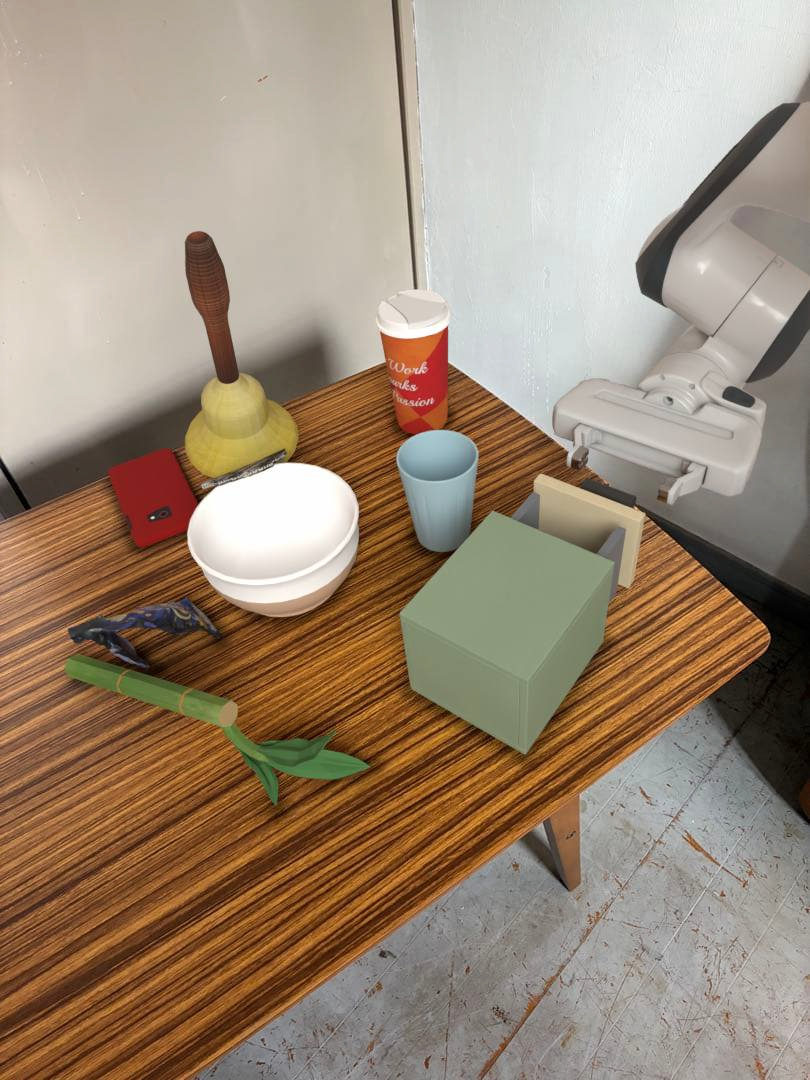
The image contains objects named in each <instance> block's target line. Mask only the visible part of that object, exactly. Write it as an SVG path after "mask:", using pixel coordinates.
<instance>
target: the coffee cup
mask: <svg viewBox="0 0 810 1080" xmlns="http://www.w3.org/2000/svg"><path fill="white" fill-rule="evenodd" d="M451 319H452V310H451V309H450V308H449V306H448V304H447V302H446V300H445V298H444V297H443V296H442V295H441V294H439V293H437V292H435V291H432V290H428V289H406V290H401V291H398V294H392V295H391V296H389V297H387V298H386V300H382V301H381V302H380V304H379V306H378V308H377V314H376V316H375V318H374V324H375V327H376V328H377V330H378V331H379V334H380V339H381V344H382V350H383V355H384V361H385V366H386V371H387V376H388V382H389V385H390V391H391V397H392V402H393V406H394V411H395V415H396V420H397V423H398V426H399V428H400V429H401V430H403V431H404V432H406V433H407V434H412V435H417V434H419V433H422V432H426V431H431V430H442V428H443V427H444V426H445V425H446V423H447V421H448V414H449V413H448V412H449V324H450V323H451Z"/></svg>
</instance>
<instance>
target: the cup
mask: <svg viewBox="0 0 810 1080" xmlns="http://www.w3.org/2000/svg"><path fill="white" fill-rule="evenodd" d="M395 456H396V457H395V460H396V462H395V463H396V466H397V470H398V473H399V477H400V480H401V483H402V487H403V491H404V495H405V498H406V502H407V506H408V509H409V513H410V516H411V521H412V525H413V528H414V532H415V536H416V538H417V540H418V542H419V544H420V545H421V546H423V547H424V548H425V549H427V550H429V551H431V552H438V553H446V552H453V551H454V550H455V551H456V550H457V549H458V548H459V547H460V546H461V545H462V544H463V542H464V541H465V540H466V539H467V538H468V537H469V536H470V535H471V528H472V520H473V510H474V501H475V493H476V492H475V491H476V482H477V474H478V466H479V465H478V464H479V458H480V457H479V456H480V455H479V448H478V447H477V444H476V443H475V442H474V441H473V440H472V439H471V438H470V437H469V436H467V435H465V434H463V433H461V432H458V431H454V430H450V429H449V430H448V429H439V430H431V431H426V432H422V433H419V434H417V435H416V434H414V435H413V436H411V437H409V438H408V439H406V440H405V441H404V442H403V443H402V444H401V445H400V447H399V448H398V450H397V452H396V455H395Z"/></svg>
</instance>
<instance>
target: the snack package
mask: <svg viewBox="0 0 810 1080" xmlns="http://www.w3.org/2000/svg"><path fill="white" fill-rule="evenodd" d="M112 612H113V613H115V612H116V611H115V610H113V611H112ZM112 612H111V611H109V614H111V613H112ZM107 614H108V613H107V612H106V613H105V615H107ZM126 629H128V630H130V629H149V630H159V631H163V632H164V633H171V634H170V636H172V637H175V636H176V635H178V636H180V635H186V634H189V633H191V632H193V631H202V632H203V631H204V632H206V633H208V634H209V635H211V636H212V637H213V638H216V639H218V640H222V639H223V636H222V634H221V633H220V631H219V630H218V629H217V627H216V626H215V625H214V624H213V623H212V621H211V620H210V619H209V617H208V616H207V615H206V614H205V613H204V612H203V611H201V610H200V609H199V608H198V607H197V606H196V605H195V603H193V602H192V601H191V600H190V599H189V597H188V596H185V597H184V599H182V600H180V601H170V602H165V603H159V604H151V605H147V606H144V607H143V606H142V607H140V606H136V607H135V609H134V610H132V611H130V612H128V613H123V614H118V615H114V616H111V617H107V618H106V617H105V616H104V613H103V614H99V615H97V616H96V617H94V618H91V619H90V620H86V621H85V622H82V623H80V624H78V625H74V626H70V627H68V628H67V633H68V635H69V638H70V639H71V640H72V642H73V643H74V644H77V645H78V644H82V642H84V641H92V642H95V644H97V645H98V646H103V647H105V648H106V649H107V650H108V651H109V652H111V654H113V656H115V657H118V658H120V659H122V660H123V661H124V662H126V663H127V662H128V663H129V664H131V665H136V666H138V667H139V668H144V669H145V670H146V671H147V670H148V669H150V667H151V663H150V661H147V660H145V659H144V658H141V657H140V656H139V655H137V653H136V649H135V647H134V646H133V645H132V644H131V642H130V641H129V639H127V638H125V637H124V636H121V635H119V634H117V633H118V632H120V631H123V630H126ZM180 645H181V646H182V647H186V646H187V645H186V644H184V643H181V644H180ZM172 657H175V654H172ZM156 666H157V667H158V666H159V664H157V665H156Z"/></svg>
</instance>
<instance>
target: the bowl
mask: <svg viewBox="0 0 810 1080" xmlns="http://www.w3.org/2000/svg"><path fill="white" fill-rule="evenodd" d="M198 504H199V505H198V506H197V508H196V509H195V511H194V513H193V515H192V517H191V519H190V523H189V528H188V531H186V532H187V533H186V534H187V535H186V536H187V538H186V539H187V547H188V549H189V551H190V555H191V557H192V558H193V559H194V561H195V562H196V563H197V565H198V566H199V567H200V568H201V570H202V574H203V576H204V577H205V579H206V580H207V581H208V583H209V584H210V585H211V587H212V588H213V589H214V591H215V592H216V593H217V595H219V596H220V597H221V598H223V599H224V600H225V601H227V602H229V603H231V604H232V605H235V606H236V607H238V608H240V609H243V610H244V611H246V612H247V611H248V612H251V613H255V614H258V615H263V616H266V617H272V618H274V617H275V618H286V617H295V616H299V615H302V614H304V613H307V612H310V611H312V610H314V609H315V608H318V607H319V606H321V605H322V604H323V603H325V602H326V601H327V600H328V599H329V598H331V597H332V595H333V594H334V593H335V591H336V590H337V589H339V587H340V586H341V585H342V584H343V582H345V580H346V579H347V577H348V576H349V573H350V572H351V570H352V568H353V566H354V565H355V563H356V560H357V556H358V553H359V540H360V527H359V524H358V521H359V515H360V513H359V510H360V506H359V502H358V499H357V496H356V494H355V492H354V491H353V489H352V488H351V486H350V485H349V484H348V483H347V482H346V481H345V480H344V479H343V478H342V477H341V476H340V475H338V474H336V473H334V472H333V471H331V470H330V469H326V468H324V467H322V466H318V465H315V464H309V463H304V462H287V463H277V464H274V466H273V467H271V468H269V469H267V470H265V471H263V472H260V473H258V474H255V475H253V476H250V477H247V478H242V479H239V480H237V481H234V482H230V483H227V484H225V485H222V486H219V485H217V486H214V487H213V489H212V490H211V491H210V492H208V494H207V495H205V496H204V497H203V498H202V500H201V501H200V502H199V503H198Z"/></svg>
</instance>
